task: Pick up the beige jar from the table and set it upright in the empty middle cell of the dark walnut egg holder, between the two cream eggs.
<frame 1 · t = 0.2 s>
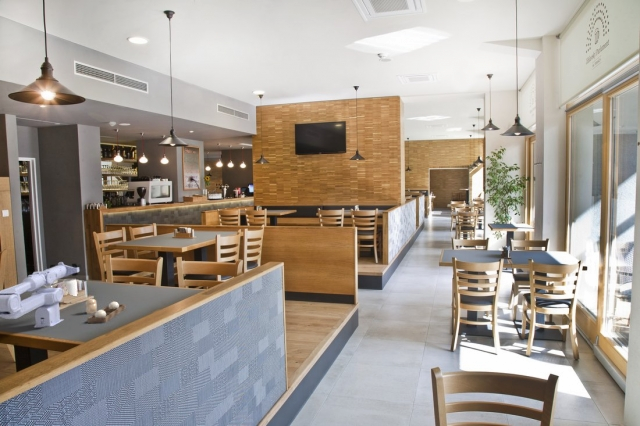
hand: (72, 266, 209), 21 cm above the table, tool horizontal, fingers open, 7 cm apart
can: (70, 302, 227), on the table
holder: (107, 316, 200), on the table
beige jar: (91, 313, 206), on the table
egg right: (114, 311, 207), point 1 cm above the table, touching holder
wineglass: (51, 301, 231), on the table
egg left: (100, 319, 193), point 1 cm above the table, touching holder
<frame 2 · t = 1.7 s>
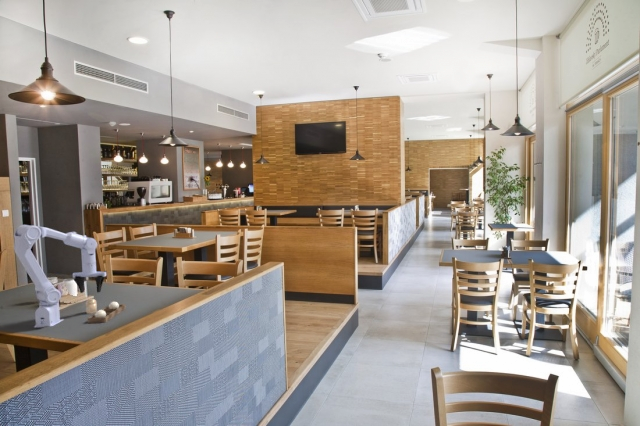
hand: (90, 292, 205), 10 cm above the table, tool pointing down, fingers open, 7 cm apart
nothing on the table moved.
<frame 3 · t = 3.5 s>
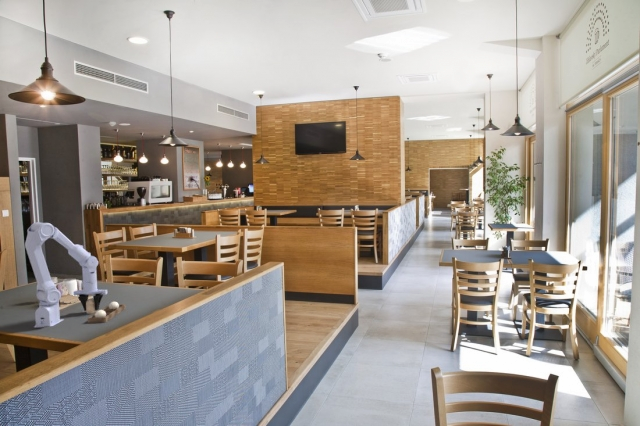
hand: (91, 310, 206), 2 cm above the table, tool pointing down, fingers closed on beige jar, 4 cm apart
beige jar: (91, 313, 206), on the table, touching gripper
everything else where it was.
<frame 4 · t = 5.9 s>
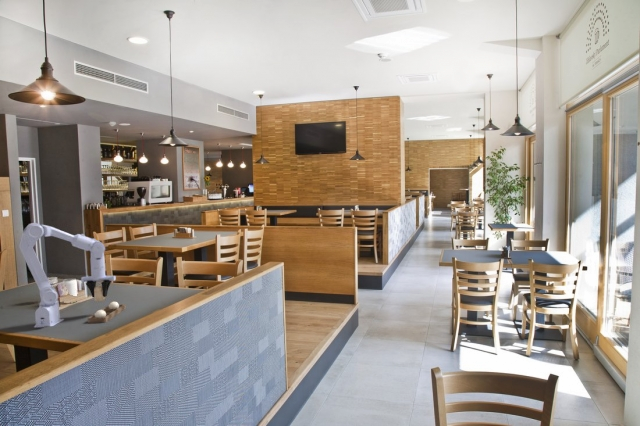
hand: (99, 296, 202), 9 cm above the table, tool pointing down, fingers closed on beige jar, 4 cm apart
beige jar: (99, 300, 202), point 7 cm above the table, touching gripper
everything else where it was.
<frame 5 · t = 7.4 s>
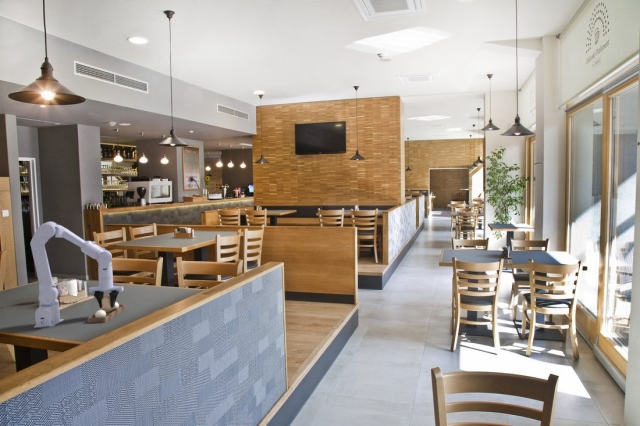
hand: (107, 307, 200), 4 cm above the table, tool pointing down, fingers closed on beige jar, 4 cm apart
beige jar: (107, 310, 200), point 3 cm above the table, touching gripper
everything else where it was.
when the fingers open (3 cm above the table, at t = 8.6 s): beige jar stays where it is, resting on holder.
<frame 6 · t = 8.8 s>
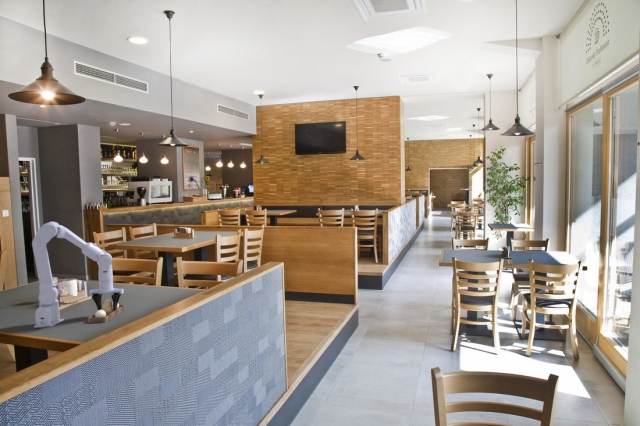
hand: (107, 309, 200), 3 cm above the table, tool pointing down, fingers open, 6 cm apart
beige jar: (107, 315, 200), point 1 cm above the table, touching holder
everything else where it was.
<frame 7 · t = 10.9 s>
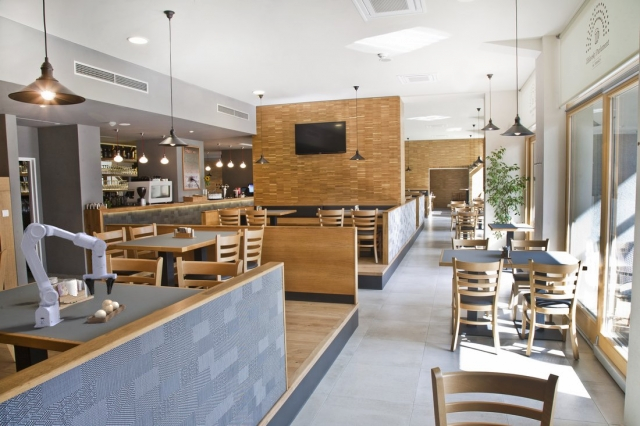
hand: (100, 294, 203), 9 cm above the table, tool pointing down, fingers open, 7 cm apart
nothing on the table moved.
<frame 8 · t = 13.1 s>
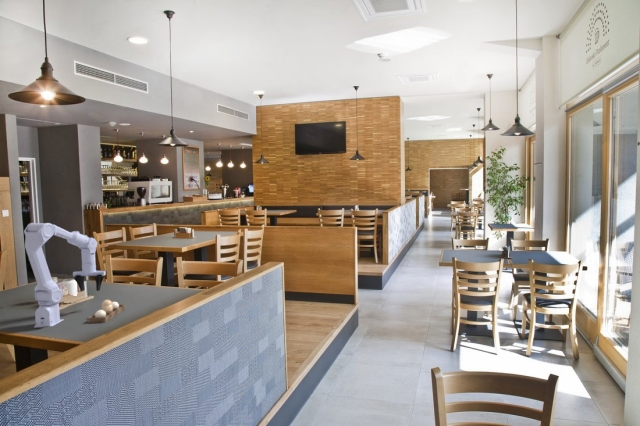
hand: (90, 290, 211), 9 cm above the table, tool pointing down, fingers open, 7 cm apart
nothing on the table moved.
at the end: beige jar 0.0 cm off-centre on the holder, point 0.7 cm above the holder's base; beige jar tilted 1°; the gripper is holding nothing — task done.
